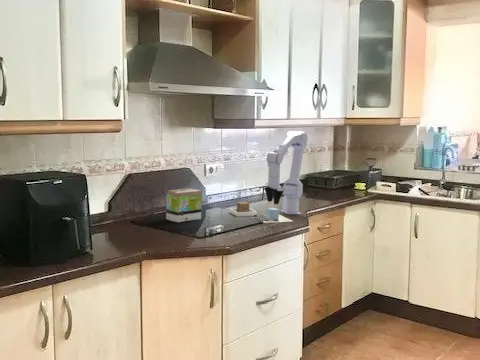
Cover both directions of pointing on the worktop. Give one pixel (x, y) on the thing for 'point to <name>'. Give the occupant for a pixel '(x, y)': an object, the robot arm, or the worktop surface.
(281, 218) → the letter board
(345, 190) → the worktop surface
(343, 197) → the worktop surface
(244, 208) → the walnut block
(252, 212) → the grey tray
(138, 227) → the worktop surface
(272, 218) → the blue cube
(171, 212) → the tea box
